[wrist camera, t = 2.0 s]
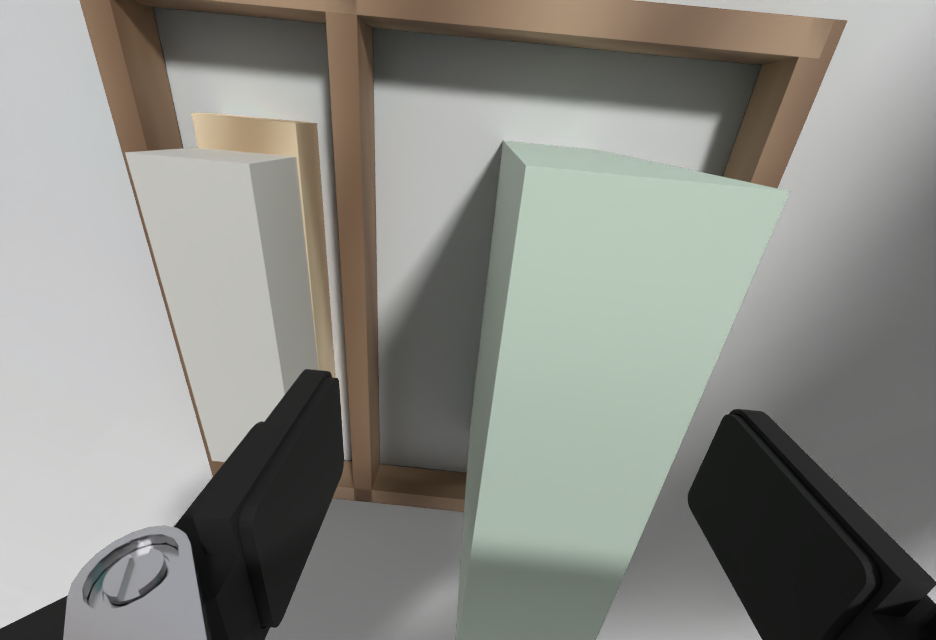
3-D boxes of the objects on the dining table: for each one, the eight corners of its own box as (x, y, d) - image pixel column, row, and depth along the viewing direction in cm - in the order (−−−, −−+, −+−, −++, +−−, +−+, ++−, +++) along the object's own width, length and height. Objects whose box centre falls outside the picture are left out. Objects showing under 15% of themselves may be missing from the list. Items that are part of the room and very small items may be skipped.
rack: (803, 33, 11) (847, 20, 10) (624, 501, 19) (634, 529, 18) (116, -32, 11) (64, -54, 10) (234, 461, 19) (215, 485, 18)
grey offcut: (296, 156, 12) (249, 163, 9) (324, 421, 16) (296, 469, 14) (196, 147, 12) (124, 152, 9) (251, 414, 16) (212, 460, 14)
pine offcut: (322, 123, 13) (295, 123, 11) (342, 410, 18) (325, 441, 17) (232, 114, 13) (191, 112, 11) (278, 403, 18) (255, 433, 17)
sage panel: (596, 149, 13) (791, 190, 4) (535, 436, 18) (572, 692, 10) (503, 140, 13) (526, 165, 4) (469, 429, 18) (452, 679, 10)
